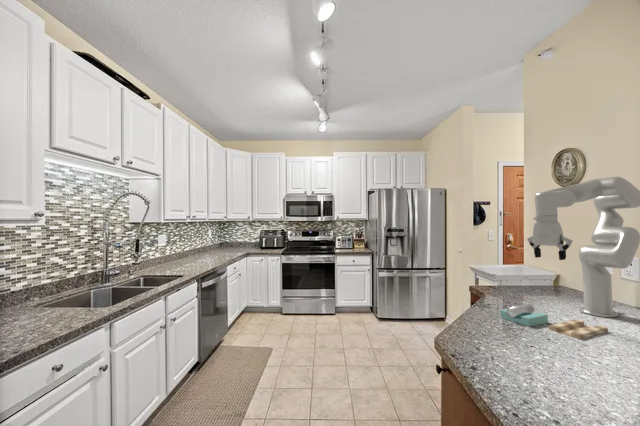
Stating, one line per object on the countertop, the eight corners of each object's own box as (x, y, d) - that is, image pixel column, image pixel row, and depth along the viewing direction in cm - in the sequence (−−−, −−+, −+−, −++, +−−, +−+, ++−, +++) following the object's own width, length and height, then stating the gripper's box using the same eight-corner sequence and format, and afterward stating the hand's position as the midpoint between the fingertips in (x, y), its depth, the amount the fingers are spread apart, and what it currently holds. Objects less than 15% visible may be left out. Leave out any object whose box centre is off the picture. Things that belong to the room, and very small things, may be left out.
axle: (527, 314, 126) (523, 304, 127) (536, 313, 122) (532, 303, 124) (508, 317, 122) (505, 308, 123) (517, 317, 118) (513, 307, 120)
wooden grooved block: (576, 324, 117) (576, 319, 117) (608, 333, 108) (608, 327, 108) (548, 331, 111) (548, 325, 111) (579, 341, 102) (579, 334, 102)
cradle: (519, 315, 130) (518, 306, 130) (548, 324, 119) (547, 314, 119) (500, 319, 126) (500, 310, 126) (528, 328, 114) (528, 318, 115)
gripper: (521, 220, 131) (523, 257, 131) (564, 219, 115) (567, 261, 115) (532, 219, 134) (534, 255, 133) (575, 218, 118) (578, 259, 117)
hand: (549, 258), depth 124 cm, fingers open, 9 cm apart
